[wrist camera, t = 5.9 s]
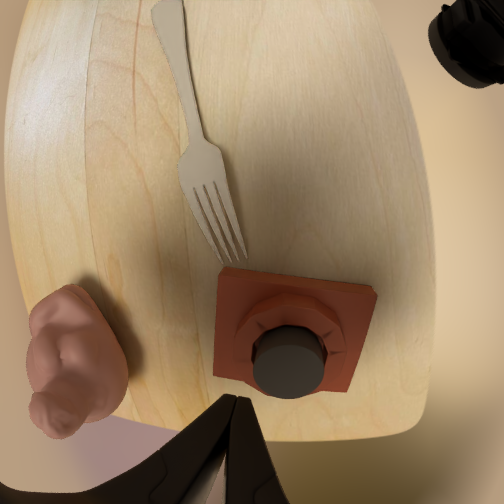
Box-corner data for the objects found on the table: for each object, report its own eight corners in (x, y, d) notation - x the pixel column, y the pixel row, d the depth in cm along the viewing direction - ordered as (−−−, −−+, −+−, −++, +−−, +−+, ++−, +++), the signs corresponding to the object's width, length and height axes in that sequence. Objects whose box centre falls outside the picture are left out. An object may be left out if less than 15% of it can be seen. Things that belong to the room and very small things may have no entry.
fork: (192, 8, 17) (181, -11, 14) (255, 257, 19) (248, 265, 16) (161, 20, 18) (147, 4, 15) (215, 266, 20) (201, 275, 17)
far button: (328, 330, 16) (331, 349, 14) (314, 381, 17) (315, 402, 16) (260, 321, 17) (256, 340, 15) (253, 374, 18) (249, 394, 16)
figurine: (124, 272, 21) (9, 350, 9) (156, 388, 23) (95, 487, 12) (51, 274, 22) (-47, 327, 11) (85, 375, 25) (19, 446, 13)
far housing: (371, 285, 19) (385, 307, 15) (344, 379, 21) (349, 408, 17) (224, 266, 20) (210, 285, 16) (218, 362, 22) (206, 391, 18)
